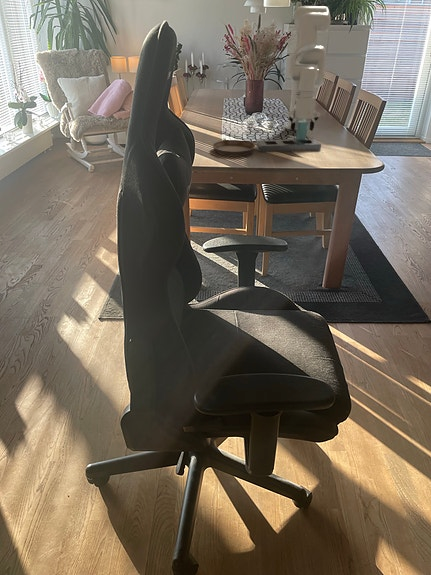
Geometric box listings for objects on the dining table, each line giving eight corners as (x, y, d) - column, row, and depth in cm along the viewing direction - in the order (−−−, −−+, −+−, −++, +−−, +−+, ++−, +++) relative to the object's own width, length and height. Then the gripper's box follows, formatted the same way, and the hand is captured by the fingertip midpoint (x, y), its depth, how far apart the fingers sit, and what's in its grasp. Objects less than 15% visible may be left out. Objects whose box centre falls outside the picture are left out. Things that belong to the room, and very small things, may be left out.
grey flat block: (256, 146, 231) (256, 140, 230) (313, 144, 236) (314, 138, 234) (261, 152, 223) (261, 146, 222) (320, 150, 227) (321, 144, 226)
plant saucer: (203, 151, 224) (203, 144, 222) (232, 143, 236) (233, 137, 235) (234, 161, 212) (234, 153, 210) (263, 152, 224) (264, 145, 222)
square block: (295, 141, 241) (297, 121, 236) (303, 140, 242) (305, 121, 237) (298, 143, 238) (300, 123, 233) (305, 143, 239) (307, 123, 233)
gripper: (291, 95, 223) (287, 132, 232) (325, 95, 225) (320, 131, 234) (286, 93, 229) (283, 129, 238) (320, 93, 232) (315, 128, 241)
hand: (301, 130), depth 236 cm, fingers open, 9 cm apart
